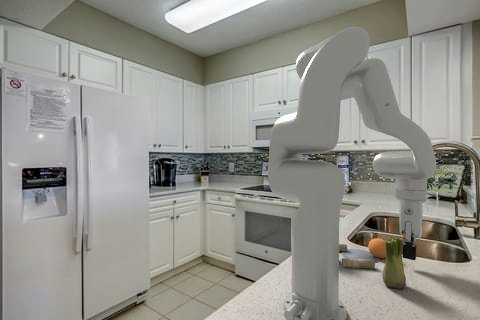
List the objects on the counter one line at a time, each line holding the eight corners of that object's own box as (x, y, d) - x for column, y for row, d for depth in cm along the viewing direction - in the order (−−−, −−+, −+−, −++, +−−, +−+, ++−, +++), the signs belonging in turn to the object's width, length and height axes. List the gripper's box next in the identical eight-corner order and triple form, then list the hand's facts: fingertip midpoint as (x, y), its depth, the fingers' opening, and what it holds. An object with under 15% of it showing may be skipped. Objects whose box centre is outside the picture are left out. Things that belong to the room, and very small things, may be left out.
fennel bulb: (387, 290, 60) (387, 241, 60) (376, 280, 65) (377, 235, 65) (411, 291, 60) (412, 241, 60) (399, 281, 65) (399, 235, 65)
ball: (362, 240, 82) (369, 259, 78) (379, 234, 78) (388, 254, 75) (370, 242, 85) (377, 260, 82) (387, 237, 82) (396, 255, 78)
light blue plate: (375, 266, 73) (375, 265, 73) (337, 257, 80) (337, 256, 80) (382, 254, 82) (382, 254, 82) (347, 247, 89) (347, 246, 89)
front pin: (375, 266, 71) (344, 264, 72) (373, 270, 72) (342, 268, 73) (373, 258, 73) (342, 256, 74) (371, 262, 74) (341, 260, 75)
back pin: (345, 243, 86) (320, 241, 88) (347, 246, 84) (321, 244, 85) (345, 249, 86) (320, 247, 88) (347, 253, 84) (320, 251, 86)
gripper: (425, 199, 64) (423, 270, 64) (427, 194, 76) (426, 254, 76) (391, 196, 69) (390, 262, 69) (398, 191, 80) (397, 248, 80)
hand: (409, 258), depth 72 cm, fingers closed
